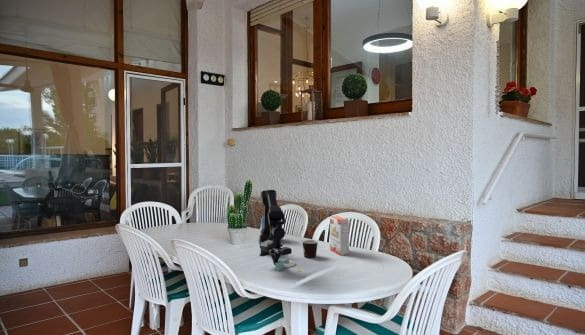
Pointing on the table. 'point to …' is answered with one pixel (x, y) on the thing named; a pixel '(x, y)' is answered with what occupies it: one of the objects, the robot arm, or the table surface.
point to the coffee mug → (310, 248)
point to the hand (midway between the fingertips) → (275, 264)
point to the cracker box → (339, 235)
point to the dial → (283, 264)
